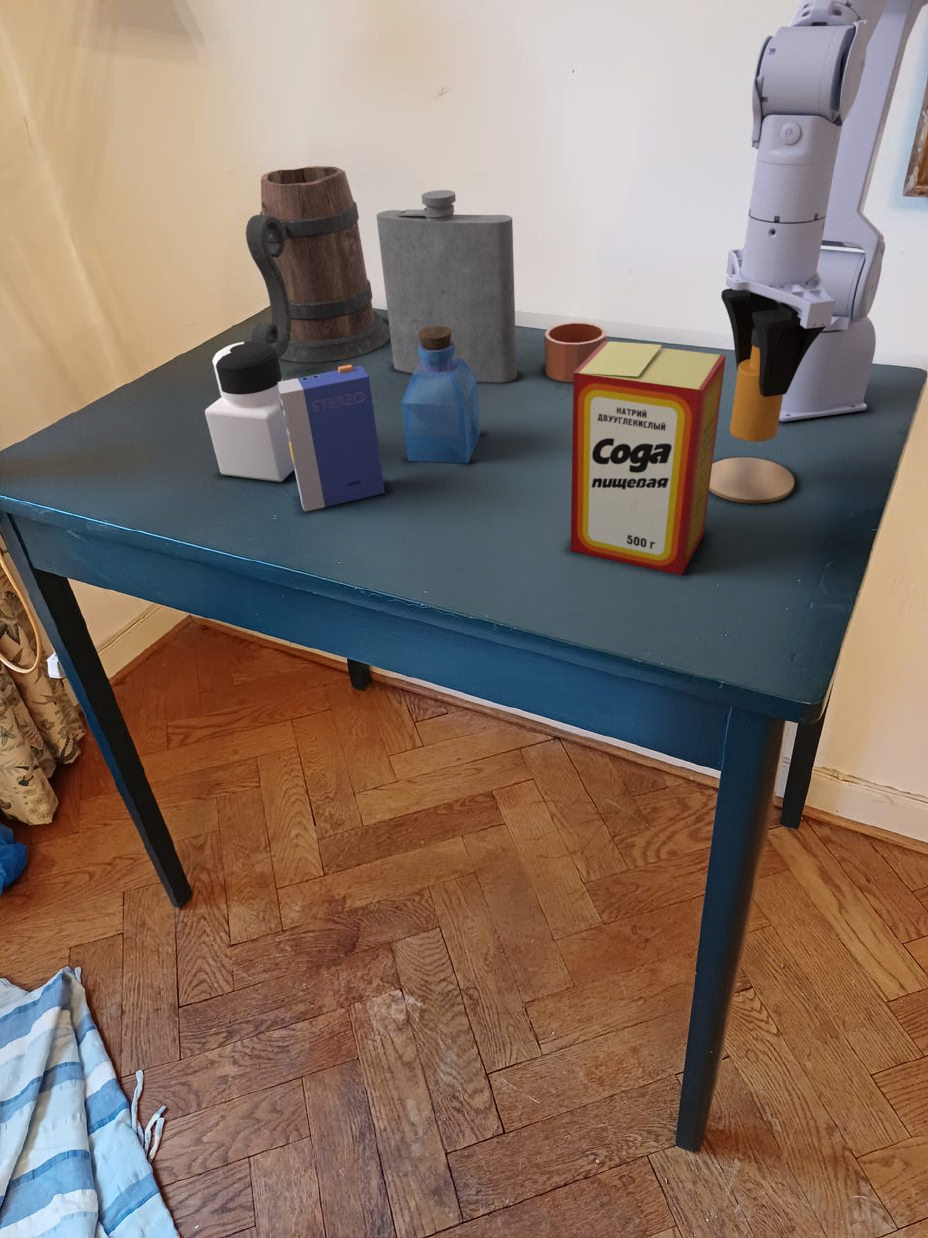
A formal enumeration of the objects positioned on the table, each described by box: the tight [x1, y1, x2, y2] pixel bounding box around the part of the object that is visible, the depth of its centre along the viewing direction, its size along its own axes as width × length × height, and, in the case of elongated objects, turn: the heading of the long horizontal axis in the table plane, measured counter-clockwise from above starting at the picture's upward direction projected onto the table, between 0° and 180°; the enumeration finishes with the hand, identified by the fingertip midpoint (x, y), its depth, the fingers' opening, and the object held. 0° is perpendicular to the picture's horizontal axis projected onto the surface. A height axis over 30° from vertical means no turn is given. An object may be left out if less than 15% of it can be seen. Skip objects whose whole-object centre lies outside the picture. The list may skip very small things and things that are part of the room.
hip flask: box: [376, 189, 518, 384], centre depth 100 cm, size 16×4×20 cm, turn 66°
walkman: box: [278, 364, 386, 512], centre depth 80 cm, size 8×3×12 cm, turn 110°
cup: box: [543, 321, 608, 383], centre depth 103 cm, size 7×7×4 cm
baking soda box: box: [570, 340, 727, 576], centre depth 70 cm, size 10×6×16 cm
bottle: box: [729, 327, 783, 443], centre depth 76 cm, size 4×4×9 cm
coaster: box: [709, 456, 795, 505], centre depth 81 cm, size 8×8×1 cm
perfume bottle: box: [401, 326, 481, 464], centre depth 87 cm, size 6×6×12 cm
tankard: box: [245, 165, 391, 363], centre depth 109 cm, size 24×17×20 cm
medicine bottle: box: [204, 341, 295, 483], centre depth 87 cm, size 7×7×12 cm
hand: (761, 383), depth 76 cm, fingers closed on bottle, 4 cm apart
